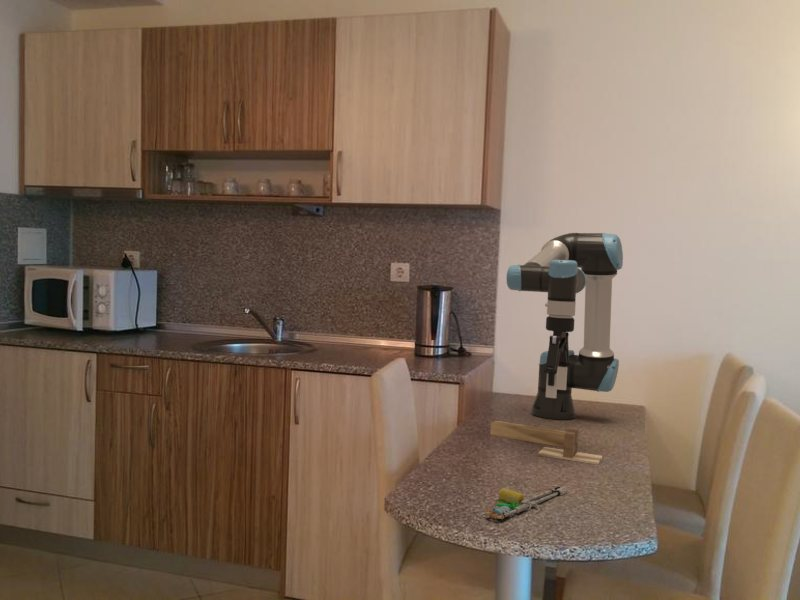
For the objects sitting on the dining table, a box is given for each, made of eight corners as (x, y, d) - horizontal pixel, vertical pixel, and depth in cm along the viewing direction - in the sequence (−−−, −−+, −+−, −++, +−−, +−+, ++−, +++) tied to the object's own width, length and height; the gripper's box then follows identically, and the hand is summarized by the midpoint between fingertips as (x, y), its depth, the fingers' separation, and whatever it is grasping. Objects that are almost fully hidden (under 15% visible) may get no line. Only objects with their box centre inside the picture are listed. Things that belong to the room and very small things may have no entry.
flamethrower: (465, 513, 138) (509, 529, 131) (467, 500, 137) (511, 515, 131) (534, 486, 160) (574, 499, 154) (536, 475, 160) (576, 487, 154)
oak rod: (495, 433, 212) (495, 420, 212) (572, 446, 200) (573, 432, 200) (490, 435, 208) (491, 422, 208) (568, 449, 197) (569, 435, 197)
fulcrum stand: (544, 449, 194) (545, 424, 194) (602, 457, 188) (604, 432, 187) (537, 455, 187) (539, 429, 187) (598, 464, 180) (600, 438, 180)
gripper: (556, 312, 201) (551, 385, 202) (536, 318, 178) (531, 399, 179) (582, 314, 198) (577, 387, 199) (565, 320, 175) (560, 403, 176)
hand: (556, 393), depth 189 cm, fingers open, 13 cm apart
